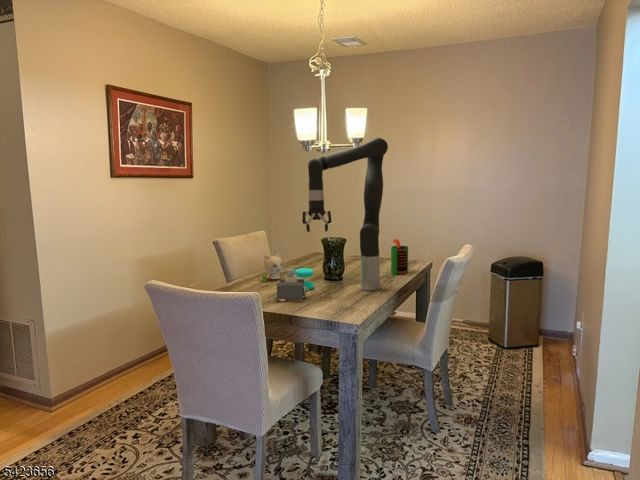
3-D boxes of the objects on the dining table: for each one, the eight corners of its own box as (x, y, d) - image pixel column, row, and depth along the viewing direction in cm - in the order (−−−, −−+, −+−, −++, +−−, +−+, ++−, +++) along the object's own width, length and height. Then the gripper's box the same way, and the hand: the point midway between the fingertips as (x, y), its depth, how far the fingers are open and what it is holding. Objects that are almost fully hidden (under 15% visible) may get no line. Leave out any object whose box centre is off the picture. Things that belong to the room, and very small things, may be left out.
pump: (297, 282, 223) (296, 268, 222) (295, 285, 218) (295, 270, 217) (286, 282, 223) (286, 268, 222) (285, 285, 218) (284, 270, 217)
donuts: (316, 270, 236) (297, 272, 232) (316, 289, 237) (298, 291, 234) (309, 267, 245) (291, 268, 242) (310, 285, 246) (292, 287, 243)
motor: (401, 276, 262) (401, 241, 259) (387, 274, 268) (387, 240, 265) (409, 272, 270) (409, 238, 267) (396, 271, 275) (395, 237, 273)
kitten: (267, 283, 253) (266, 256, 251) (257, 280, 261) (256, 254, 259) (289, 279, 263) (288, 253, 260) (279, 276, 270) (278, 251, 268)
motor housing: (307, 295, 226) (307, 278, 225) (305, 301, 216) (304, 283, 215) (280, 295, 227) (280, 278, 226) (277, 301, 217) (276, 283, 216)
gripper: (331, 198, 231) (332, 230, 233) (302, 199, 232) (304, 231, 235) (330, 199, 223) (331, 232, 226) (301, 200, 225) (302, 233, 227)
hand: (317, 231), depth 230 cm, fingers open, 8 cm apart
